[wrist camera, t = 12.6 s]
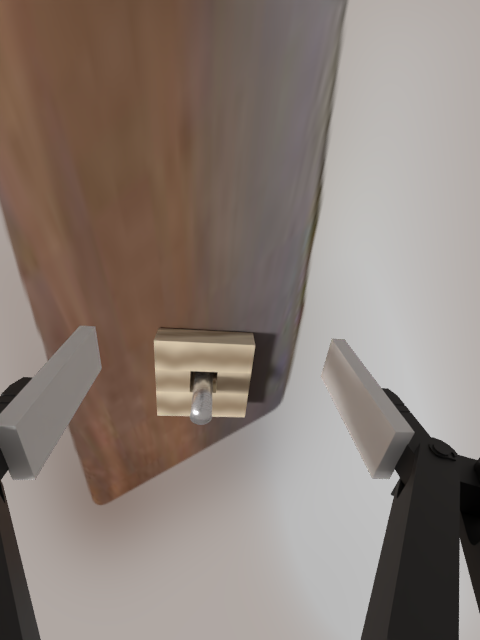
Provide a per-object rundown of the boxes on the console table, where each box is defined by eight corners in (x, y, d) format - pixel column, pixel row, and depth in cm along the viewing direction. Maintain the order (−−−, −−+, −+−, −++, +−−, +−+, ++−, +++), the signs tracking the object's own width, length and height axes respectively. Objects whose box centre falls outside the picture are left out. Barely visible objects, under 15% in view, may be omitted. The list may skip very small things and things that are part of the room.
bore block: (158, 327, 47) (153, 340, 44) (252, 332, 49) (255, 345, 45) (161, 399, 54) (157, 415, 51) (243, 401, 56) (244, 417, 53)
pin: (195, 362, 50) (190, 408, 40) (213, 363, 50) (212, 409, 41) (195, 377, 52) (189, 424, 42) (212, 377, 52) (211, 424, 42)
